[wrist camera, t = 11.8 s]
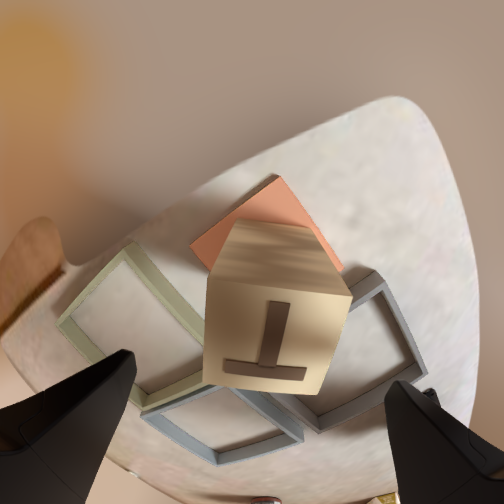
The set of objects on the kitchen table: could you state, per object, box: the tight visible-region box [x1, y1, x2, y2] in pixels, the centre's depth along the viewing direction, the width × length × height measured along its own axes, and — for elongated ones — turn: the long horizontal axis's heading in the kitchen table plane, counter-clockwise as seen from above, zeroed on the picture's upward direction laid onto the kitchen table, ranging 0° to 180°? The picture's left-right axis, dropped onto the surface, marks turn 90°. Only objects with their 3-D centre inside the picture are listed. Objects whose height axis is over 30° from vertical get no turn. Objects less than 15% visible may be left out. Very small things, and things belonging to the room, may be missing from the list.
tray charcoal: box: [268, 271, 428, 434], centre depth 22 cm, size 13×13×2 cm
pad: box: [189, 176, 344, 272], centre depth 20 cm, size 8×8×1 cm
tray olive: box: [55, 241, 208, 411], centre depth 22 cm, size 13×13×2 cm
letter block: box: [202, 218, 353, 395], centre depth 14 cm, size 5×5×10 cm
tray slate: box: [139, 384, 304, 467], centre depth 25 cm, size 13×13×2 cm
